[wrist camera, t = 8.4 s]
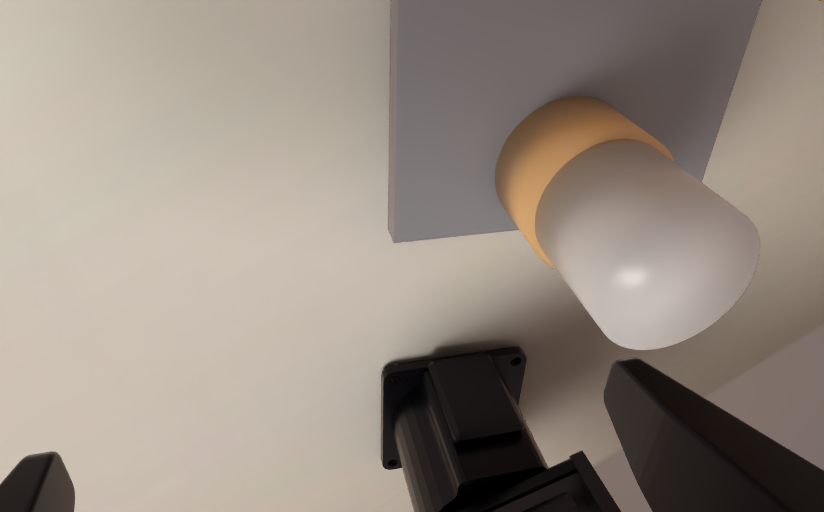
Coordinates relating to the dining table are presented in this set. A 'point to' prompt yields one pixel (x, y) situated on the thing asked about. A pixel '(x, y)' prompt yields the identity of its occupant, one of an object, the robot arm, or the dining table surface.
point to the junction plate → (531, 66)
